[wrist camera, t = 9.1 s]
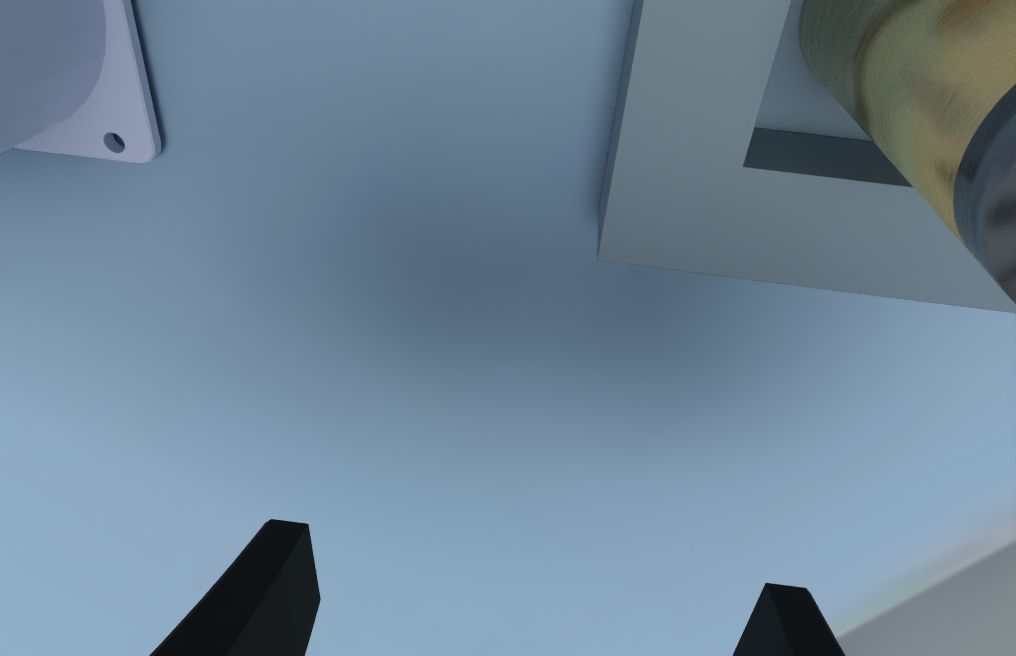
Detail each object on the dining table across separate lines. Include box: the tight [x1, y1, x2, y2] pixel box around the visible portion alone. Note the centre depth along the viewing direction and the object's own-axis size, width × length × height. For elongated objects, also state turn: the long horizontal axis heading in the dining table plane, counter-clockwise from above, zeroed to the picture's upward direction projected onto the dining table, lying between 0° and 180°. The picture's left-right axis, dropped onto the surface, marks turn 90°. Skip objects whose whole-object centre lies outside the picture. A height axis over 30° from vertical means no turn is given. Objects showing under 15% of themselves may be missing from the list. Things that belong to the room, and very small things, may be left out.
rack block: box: [597, 0, 1016, 313], centre depth 13 cm, size 10×10×2 cm
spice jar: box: [799, 0, 1016, 304], centre depth 11 cm, size 3×3×9 cm
